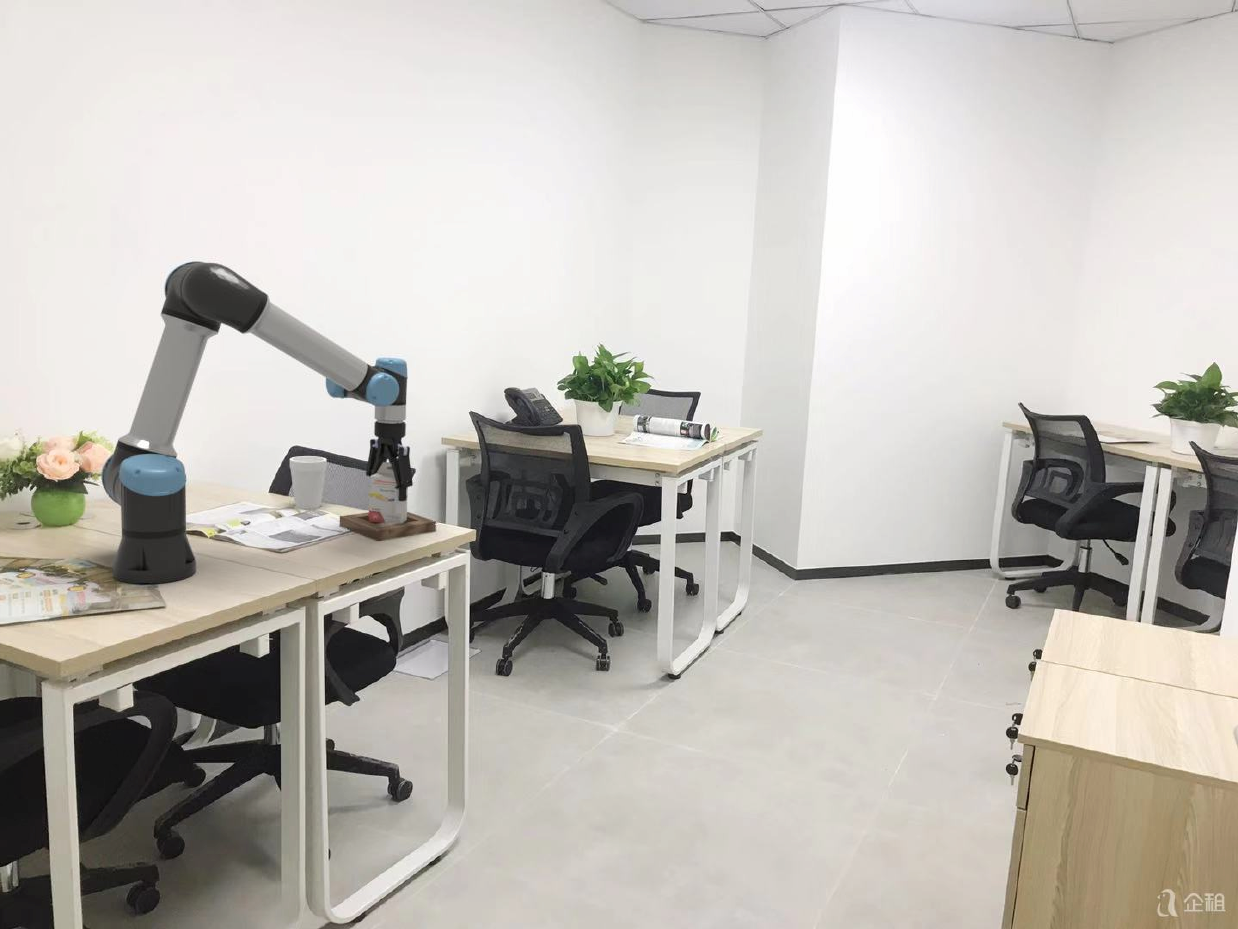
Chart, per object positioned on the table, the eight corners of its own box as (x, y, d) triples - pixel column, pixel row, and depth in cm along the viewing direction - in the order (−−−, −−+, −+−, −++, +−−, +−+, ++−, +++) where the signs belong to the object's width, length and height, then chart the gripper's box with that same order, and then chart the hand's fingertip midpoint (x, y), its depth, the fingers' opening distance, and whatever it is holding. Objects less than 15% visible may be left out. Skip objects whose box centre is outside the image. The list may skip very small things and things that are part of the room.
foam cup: (288, 503, 256) (288, 456, 253) (323, 501, 260) (323, 455, 257) (291, 511, 247) (292, 462, 245) (328, 509, 251) (328, 462, 249)
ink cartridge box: (367, 521, 234) (369, 464, 231) (374, 517, 239) (376, 460, 236) (401, 525, 233) (402, 467, 231) (407, 520, 238) (409, 463, 235)
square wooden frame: (377, 541, 224) (378, 530, 224) (339, 526, 236) (339, 516, 235) (435, 531, 237) (436, 521, 236) (396, 517, 248) (397, 508, 248)
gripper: (429, 426, 227) (426, 516, 231) (378, 414, 241) (376, 499, 245) (403, 428, 221) (400, 520, 225) (352, 415, 236) (350, 502, 240)
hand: (388, 509), depth 235 cm, fingers closed on ink cartridge box, 9 cm apart
